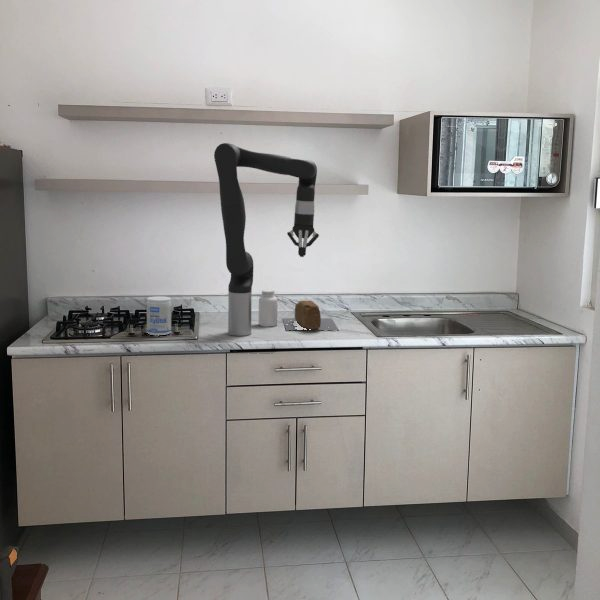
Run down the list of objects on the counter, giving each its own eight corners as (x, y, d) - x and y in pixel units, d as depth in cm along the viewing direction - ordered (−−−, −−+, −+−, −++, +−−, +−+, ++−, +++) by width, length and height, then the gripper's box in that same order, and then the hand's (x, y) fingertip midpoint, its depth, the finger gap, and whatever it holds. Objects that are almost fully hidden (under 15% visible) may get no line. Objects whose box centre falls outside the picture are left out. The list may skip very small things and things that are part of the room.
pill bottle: (259, 327, 312) (259, 292, 310) (257, 323, 320) (257, 288, 317) (278, 327, 314) (278, 291, 311) (275, 322, 321) (276, 288, 319)
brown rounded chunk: (304, 331, 305) (293, 321, 324) (321, 330, 307) (310, 321, 326) (304, 305, 303) (293, 297, 322) (321, 304, 305) (310, 296, 324)
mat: (286, 331, 306) (286, 330, 306) (282, 318, 330) (282, 318, 330) (339, 330, 308) (339, 330, 308) (331, 319, 332) (331, 318, 332)
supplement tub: (149, 337, 290) (149, 300, 288) (144, 332, 299) (143, 296, 296) (174, 336, 294) (173, 299, 291) (168, 331, 303) (167, 295, 300)
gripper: (320, 212, 293) (317, 256, 296) (286, 210, 292) (284, 254, 295) (322, 214, 286) (319, 259, 289) (287, 212, 285) (285, 257, 288)
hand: (301, 256), depth 292 cm, fingers closed
